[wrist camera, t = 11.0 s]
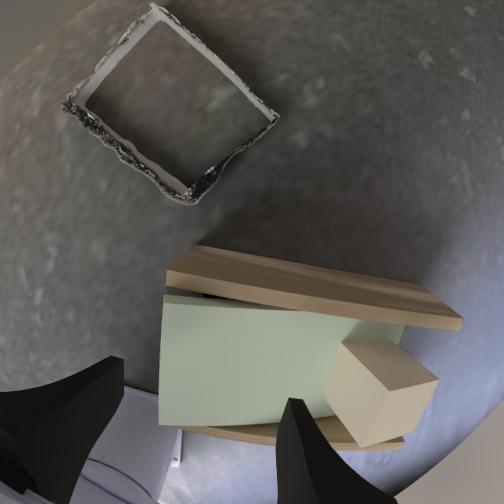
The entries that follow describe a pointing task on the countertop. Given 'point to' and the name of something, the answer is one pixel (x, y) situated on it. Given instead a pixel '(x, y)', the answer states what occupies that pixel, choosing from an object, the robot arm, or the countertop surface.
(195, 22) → the countertop surface
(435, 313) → the trapdoor frame
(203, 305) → the trapdoor
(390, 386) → the beige cube
